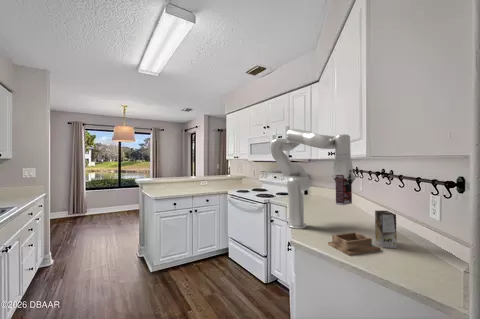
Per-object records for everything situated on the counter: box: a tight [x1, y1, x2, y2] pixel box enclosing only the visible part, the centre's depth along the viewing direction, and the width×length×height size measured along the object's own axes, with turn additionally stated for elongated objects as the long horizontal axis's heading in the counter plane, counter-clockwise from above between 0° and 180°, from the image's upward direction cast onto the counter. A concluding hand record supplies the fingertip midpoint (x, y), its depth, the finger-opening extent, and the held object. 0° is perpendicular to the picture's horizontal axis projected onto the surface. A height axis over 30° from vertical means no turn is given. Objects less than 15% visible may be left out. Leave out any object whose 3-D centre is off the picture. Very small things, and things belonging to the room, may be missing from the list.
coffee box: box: [374, 210, 398, 249], centre depth 112 cm, size 9×6×16 cm
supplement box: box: [335, 175, 353, 206], centre depth 121 cm, size 9×5×16 cm, turn 126°
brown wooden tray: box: [327, 231, 381, 257], centre depth 109 cm, size 14×18×5 cm
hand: (343, 190), depth 121 cm, fingers closed on supplement box, 5 cm apart
